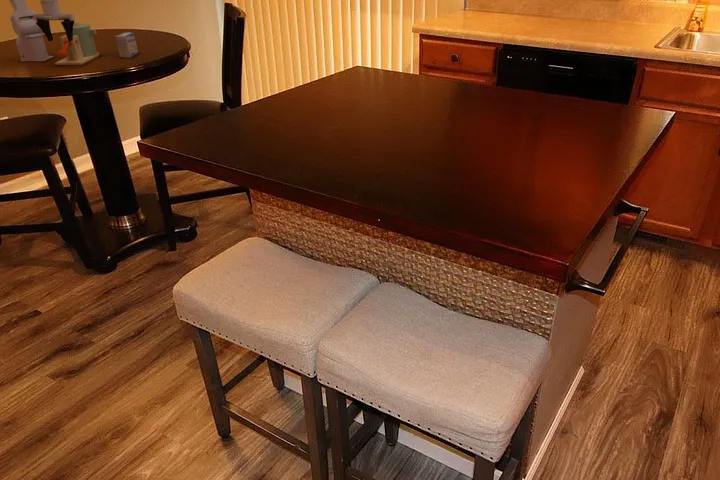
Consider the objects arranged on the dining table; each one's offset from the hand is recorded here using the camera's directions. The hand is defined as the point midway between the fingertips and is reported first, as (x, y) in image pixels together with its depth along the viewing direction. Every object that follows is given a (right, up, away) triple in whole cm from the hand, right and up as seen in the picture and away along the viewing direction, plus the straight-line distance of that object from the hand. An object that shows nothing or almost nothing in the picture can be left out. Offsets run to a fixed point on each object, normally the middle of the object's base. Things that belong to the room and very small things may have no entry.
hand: (60, 40), depth 217 cm
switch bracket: (0, -4, +11) cm, 12 cm away
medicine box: (+17, +1, +20) cm, 26 cm away
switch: (-1, -2, +6) cm, 6 cm away
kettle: (+1, +1, +18) cm, 19 cm away
